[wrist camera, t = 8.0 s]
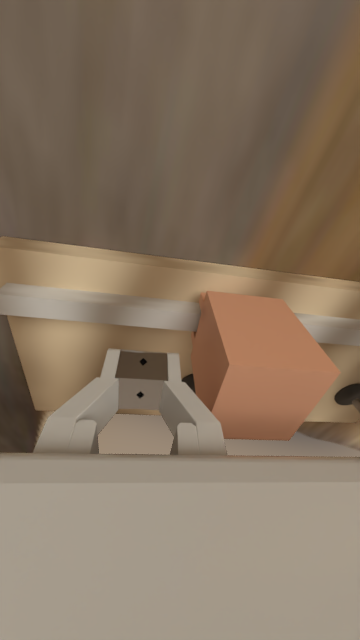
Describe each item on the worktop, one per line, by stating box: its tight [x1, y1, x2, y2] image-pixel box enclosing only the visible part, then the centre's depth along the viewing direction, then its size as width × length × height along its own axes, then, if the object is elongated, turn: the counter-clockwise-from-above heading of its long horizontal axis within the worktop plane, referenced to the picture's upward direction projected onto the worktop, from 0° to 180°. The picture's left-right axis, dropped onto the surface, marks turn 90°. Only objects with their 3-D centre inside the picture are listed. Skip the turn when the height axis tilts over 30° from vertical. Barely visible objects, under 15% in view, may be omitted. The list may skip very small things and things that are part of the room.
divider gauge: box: [0, 236, 360, 423], centre depth 15 cm, size 28×13×8 cm, turn 81°
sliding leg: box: [191, 291, 341, 441], centre depth 13 cm, size 4×9×6 cm, turn 171°
